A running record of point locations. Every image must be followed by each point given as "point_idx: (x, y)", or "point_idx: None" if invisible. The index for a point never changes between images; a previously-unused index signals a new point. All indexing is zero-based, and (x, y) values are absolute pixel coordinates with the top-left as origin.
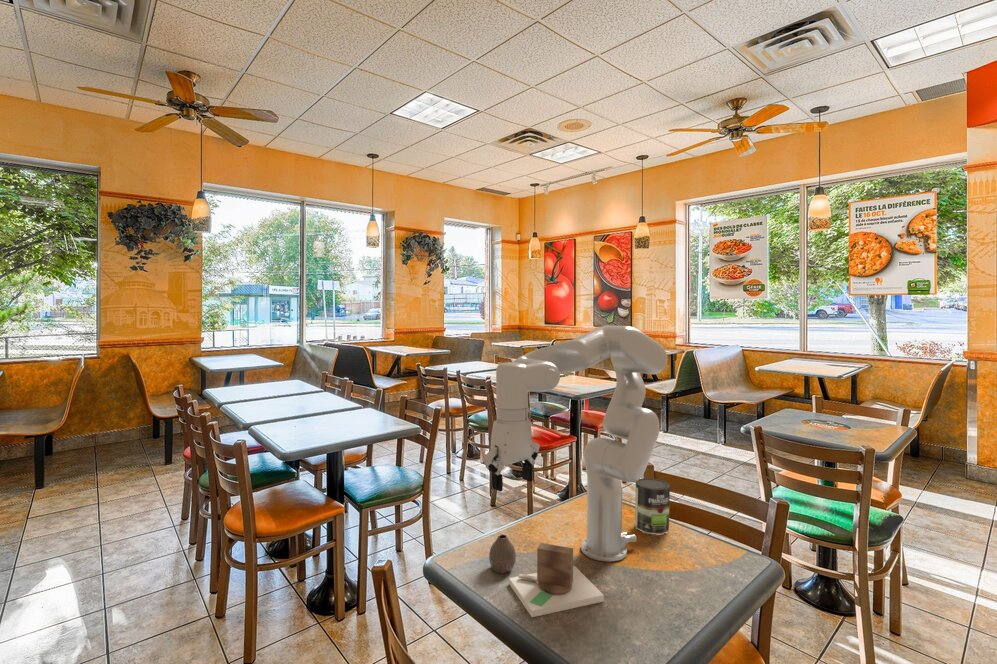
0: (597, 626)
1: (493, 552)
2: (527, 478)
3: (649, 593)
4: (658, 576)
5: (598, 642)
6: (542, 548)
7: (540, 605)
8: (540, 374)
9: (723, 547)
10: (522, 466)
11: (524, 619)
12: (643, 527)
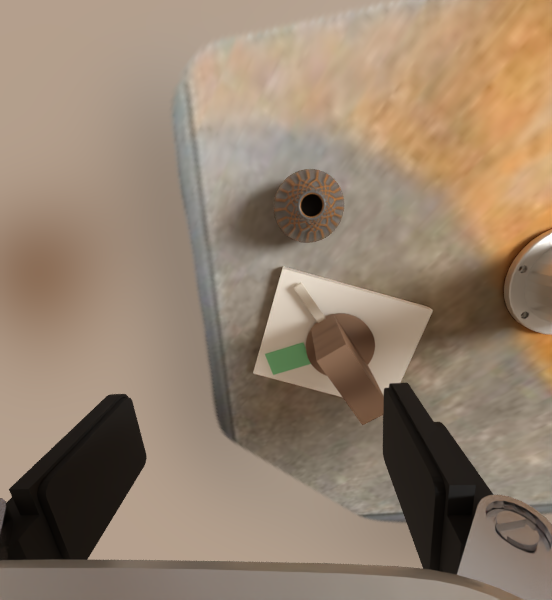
0: (323, 434)
1: (276, 210)
2: (387, 444)
3: (467, 429)
4: (537, 408)
5: (297, 454)
6: (326, 369)
7: (273, 373)
8: None
9: None
10: (423, 462)
11: (241, 364)
12: None
